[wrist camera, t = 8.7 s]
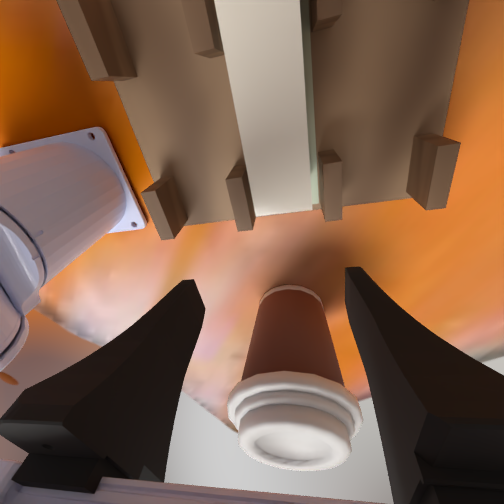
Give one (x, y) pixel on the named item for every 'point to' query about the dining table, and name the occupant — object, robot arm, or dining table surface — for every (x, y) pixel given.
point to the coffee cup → (293, 387)
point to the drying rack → (317, 101)
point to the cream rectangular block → (269, 99)
